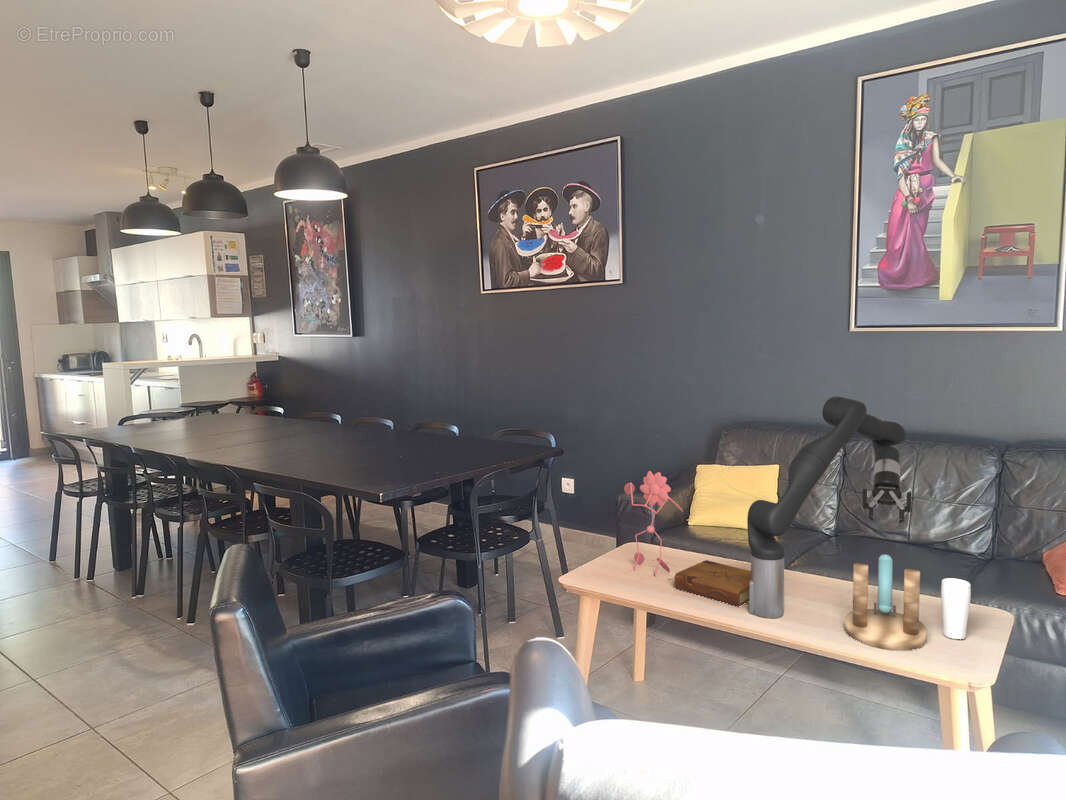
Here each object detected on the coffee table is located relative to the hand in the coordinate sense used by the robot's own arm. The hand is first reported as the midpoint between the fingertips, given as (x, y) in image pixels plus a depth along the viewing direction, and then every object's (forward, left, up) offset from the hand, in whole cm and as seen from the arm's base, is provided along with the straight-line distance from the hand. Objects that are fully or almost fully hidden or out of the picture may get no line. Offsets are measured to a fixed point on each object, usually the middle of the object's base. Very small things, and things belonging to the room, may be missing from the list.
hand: (886, 520), depth 214 cm
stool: (0, -31, -24) cm, 39 cm away
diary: (-47, -15, -24) cm, 55 cm away
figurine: (-72, -3, -24) cm, 76 cm away
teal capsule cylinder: (0, -25, -20) cm, 32 cm away
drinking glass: (+17, -26, -24) cm, 39 cm away
